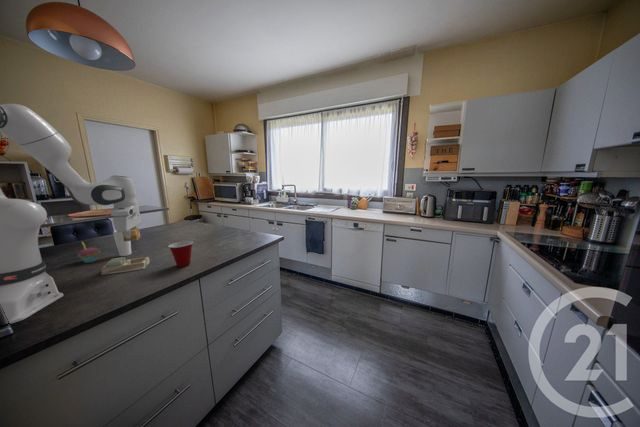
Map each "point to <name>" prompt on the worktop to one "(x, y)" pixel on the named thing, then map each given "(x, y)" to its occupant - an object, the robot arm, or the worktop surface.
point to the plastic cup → (181, 252)
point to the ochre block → (135, 235)
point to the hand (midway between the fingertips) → (131, 236)
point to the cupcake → (88, 254)
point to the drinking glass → (122, 244)
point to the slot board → (124, 265)
